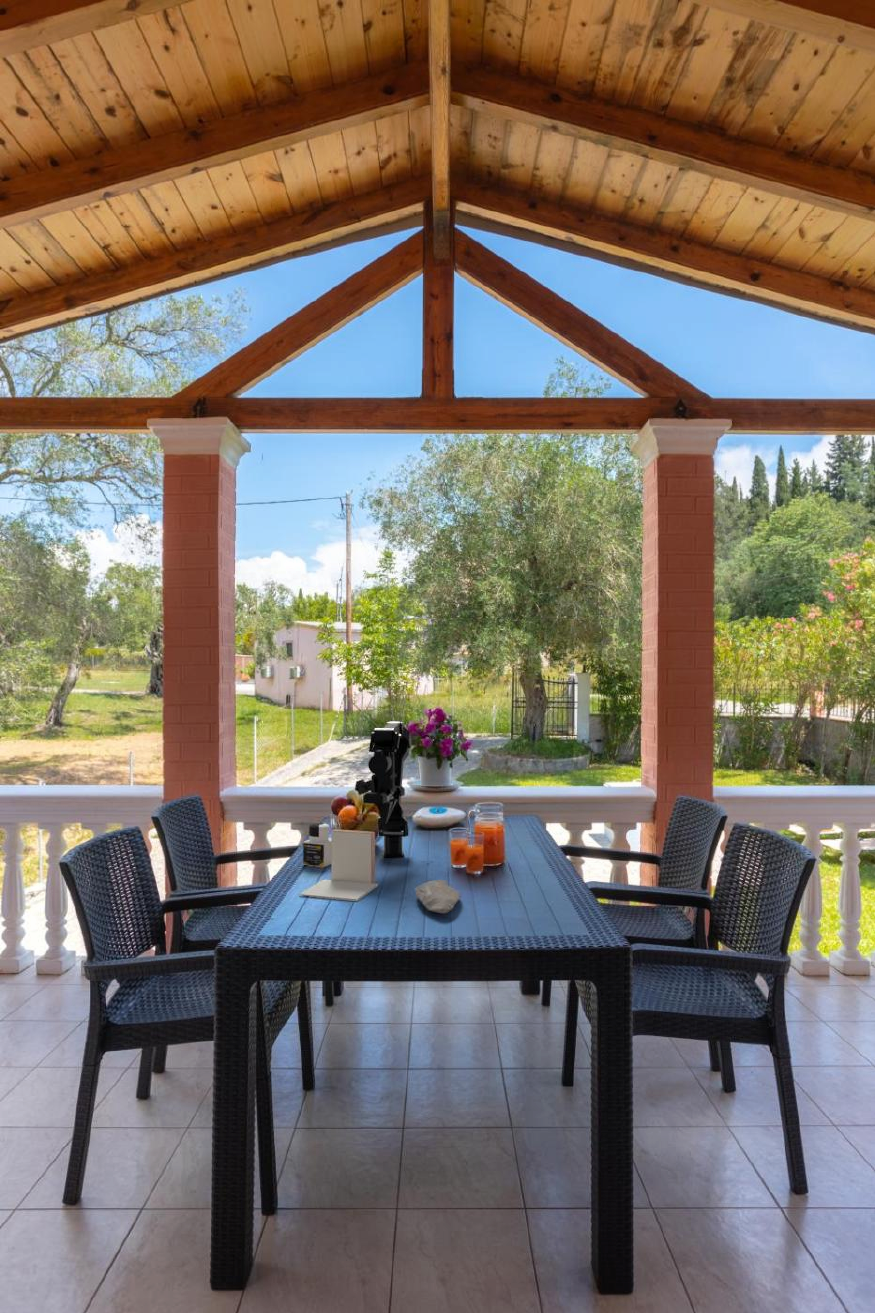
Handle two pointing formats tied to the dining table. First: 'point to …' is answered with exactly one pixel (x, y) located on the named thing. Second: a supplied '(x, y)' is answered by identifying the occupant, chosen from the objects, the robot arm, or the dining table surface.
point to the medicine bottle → (317, 846)
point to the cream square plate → (339, 890)
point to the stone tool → (437, 896)
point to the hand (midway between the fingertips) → (384, 823)
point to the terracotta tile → (353, 856)
